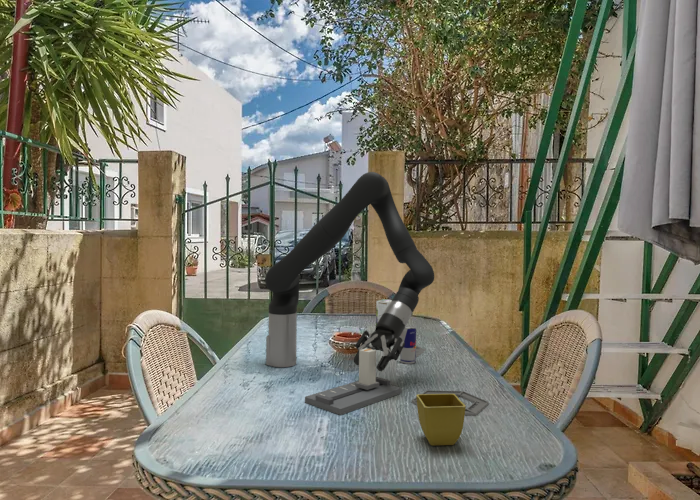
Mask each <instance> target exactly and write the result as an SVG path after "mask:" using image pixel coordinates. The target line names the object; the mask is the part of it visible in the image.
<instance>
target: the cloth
mask: <svg viewBox="0 0 700 500" xmlns="http://www.w3.org/2000/svg"><path fill="white" fill-rule="evenodd" d="M393 347H394V345H393V346H392V348H393ZM425 351H426V348H423V347H420V346H418V345H416V358H418V357H419V356H421V355H422V354H424V353H425Z"/></svg>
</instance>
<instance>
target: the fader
mask: <svg viewBox="0 0 700 500" xmlns="http://www.w3.org/2000/svg"><path fill="white" fill-rule="evenodd" d="M376 371H377V350H372V349H367V347H366V348H365V349H361V350H359V365H358V381H359V382H357V383H355V387H358V388H362V389H365V390H369V389H372V388H375V387H378V386H379V382H376V377H377V372H376Z"/></svg>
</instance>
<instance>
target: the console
mask: <svg viewBox="0 0 700 500" xmlns="http://www.w3.org/2000/svg"><path fill="white" fill-rule="evenodd" d="M357 382H359V380H356V381H353V382H349V383H346V384H343V385H340V386H336V387H332V388H329V389H326V390H322V391H319V392H316V393H313V394H309V395H306V396H304V403H306V404H308V405H310V406H311V405H312V406H313V405H314V406H313V407H317V408H319V409H322V410H325V411H327V412H330V413H334V414H337V415H339V416H342V415H345V414H348V413H351V412H353V411H356V410H358V409H362V408H364V407H367V406H369V405H373V404H375V403H378V402H381V401H384V400H387V399H389V398H392V397H394V396H397V395H400V394H403V393H402V390H403V388H402V387H400V386H397V385H394V384H393V385H392V384H391V379H387V378H382V377H379V376H376V382H379V386H378V387H375V388H372V389H369V390H365V389H362V388H358V387H355V383H357Z"/></svg>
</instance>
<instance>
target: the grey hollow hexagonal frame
mask: <svg viewBox="0 0 700 500" xmlns="http://www.w3.org/2000/svg"><path fill="white" fill-rule="evenodd" d="M421 394H455V395H456V396H457V397H458V399H460V398H461V399H463V400H465V401H468V402H470V403H471V404H470V405H469V406H468V407H467V408H465V416H467V417H470V416H471V417H477V416H478V415H479V414H480V413H482V411H483V410H484V409H485V408H486V407H487V406H489V403H490V402H489V401H487V400H486V399H482V398H480V397H478V396H475V395H473V394H471V393H468V392H466V391H464V390H426V391H424V392H423V393H421ZM460 401H461V402H462V403H463V404H464V405H465V406H466V405H467V404H468V403H467V402H464V401H462V400H460ZM411 404H413V405H416V406H417V398H416V397H414V398H413V399H411ZM465 416H464V417H465Z"/></svg>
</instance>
